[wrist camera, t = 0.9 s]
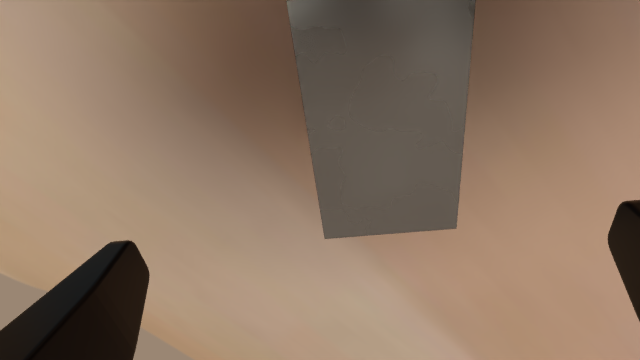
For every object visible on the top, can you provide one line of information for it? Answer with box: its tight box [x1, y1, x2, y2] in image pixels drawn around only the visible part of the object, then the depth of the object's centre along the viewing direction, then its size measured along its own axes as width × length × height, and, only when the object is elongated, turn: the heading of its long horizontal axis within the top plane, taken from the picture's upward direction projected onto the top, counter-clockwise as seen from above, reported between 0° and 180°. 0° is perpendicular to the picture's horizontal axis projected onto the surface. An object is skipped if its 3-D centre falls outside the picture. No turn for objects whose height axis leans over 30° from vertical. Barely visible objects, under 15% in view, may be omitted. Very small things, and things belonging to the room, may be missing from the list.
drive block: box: [286, 0, 476, 239], centre depth 16 cm, size 4×8×7 cm, turn 7°
